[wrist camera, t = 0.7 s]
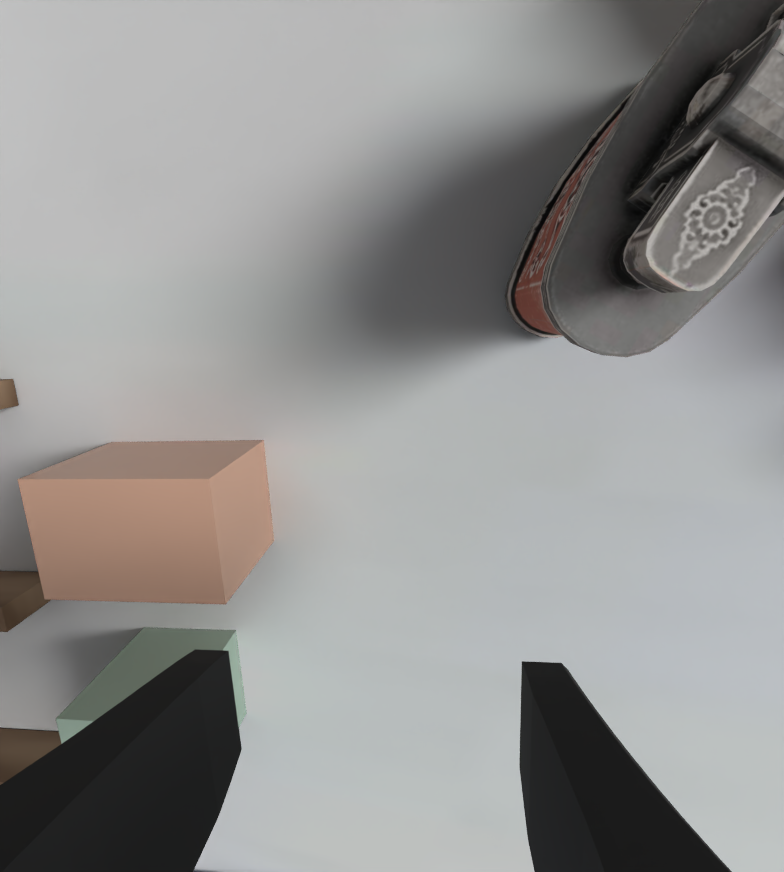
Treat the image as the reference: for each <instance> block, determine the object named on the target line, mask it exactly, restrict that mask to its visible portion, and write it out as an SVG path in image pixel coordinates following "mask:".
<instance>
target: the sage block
mask: <svg viewBox="0 0 784 872" xmlns="http://www.w3.org/2000/svg"><path fill="white" fill-rule="evenodd" d="M195 649H199V650H225V651H229V658H230V666H231V674H232V681H233V689H234V696H235V704H236V711H237V719H238V726H239V727H240V725H241V723H242V721H243V719H244V717H245V715H246V706H245V698H244V690H243V682H242V674H241V666H240V659H239V651H238V643H237V635H236V630H208V629H177V628H145V627H144V628H143V629H142V630H141V631H140V632H139V633H138V634H137V635H136V636H135V637H134V638H133V640H132V641H131V642H130V643H129V644H128V645H127V646H126V647H125V648H124V649H123V650H122V651H121V652H120V653H119V654H118V655H117V656H116V657H115V658H114V659H113V660H112V661H111V662H110V663H109V664H108V665H107V666H106V667H105V669H104V670H103V671H102V672H101V673H100V674H99V675H98V676H97V677H96V678H95V679H94V680H93V681H92V682H91V683H90V684H89V685H88V686H87V687H86V688H85V689H84V690H83V691H82V692H81V693H80V694H79V695H78V696H77V697H76V699H75V700H74V701H73V702H72V703H71V704H70V705H69V706H68V707H67V708H66V709H65V710H64V711H63V712H62V713H61V714H60V715H59V716H58V717H57V718H56V722H57V726H58V731H59V735H60V739H61V744H62V743H64V742H65V741H66V740H68V739H69V738H71V737H72V736H74V735H75V734H77V733H78V732H79V731H81V730H82V729H84V728H85V727H86V726H88V725H89V724H91V723H92V722H93V721H95V720H96V719H98V718H99V717H100V716H102V715H103V714H104V713H106V712H107V711H109V710H110V709H111V708H113V707H114V706H116V705H117V704H118V703H120V702H121V701H123V700H124V699H125V698H127V697H128V696H130V695H131V694H132V693H134V692H135V691H136V690H138V689H139V688H140V687H142V686H143V685H145V684H146V683H147V682H149V681H150V680H151V679H153V678H154V677H156V676H157V675H158V674H160V673H161V672H163V671H164V670H165V669H167V668H168V667H170V666H171V665H172V664H174V663H175V662H177V661H178V660H180V659H181V658H183V657H184V656H186V655H187V654H189V653H190V652H192V651H193V650H195Z"/></svg>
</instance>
